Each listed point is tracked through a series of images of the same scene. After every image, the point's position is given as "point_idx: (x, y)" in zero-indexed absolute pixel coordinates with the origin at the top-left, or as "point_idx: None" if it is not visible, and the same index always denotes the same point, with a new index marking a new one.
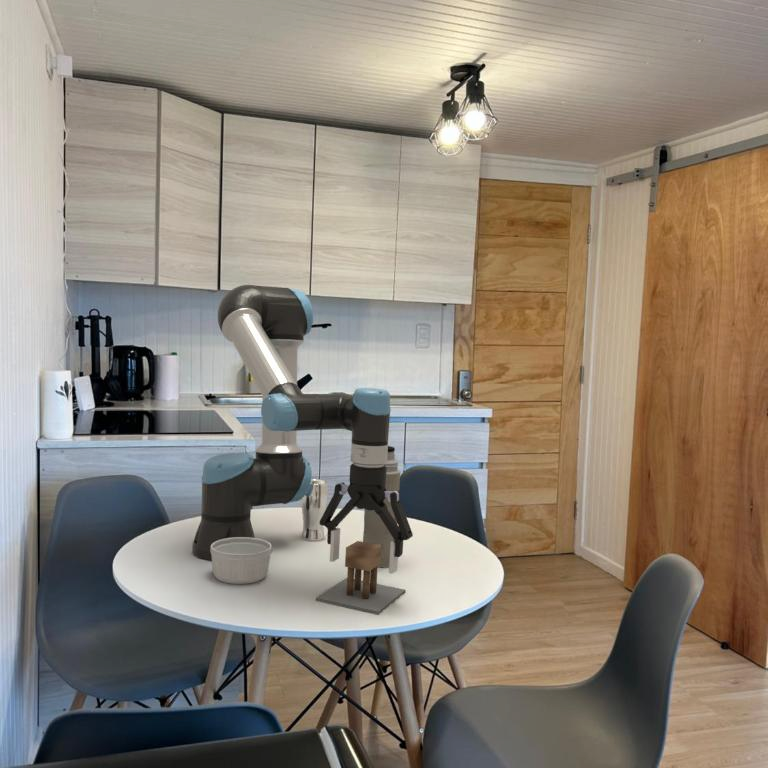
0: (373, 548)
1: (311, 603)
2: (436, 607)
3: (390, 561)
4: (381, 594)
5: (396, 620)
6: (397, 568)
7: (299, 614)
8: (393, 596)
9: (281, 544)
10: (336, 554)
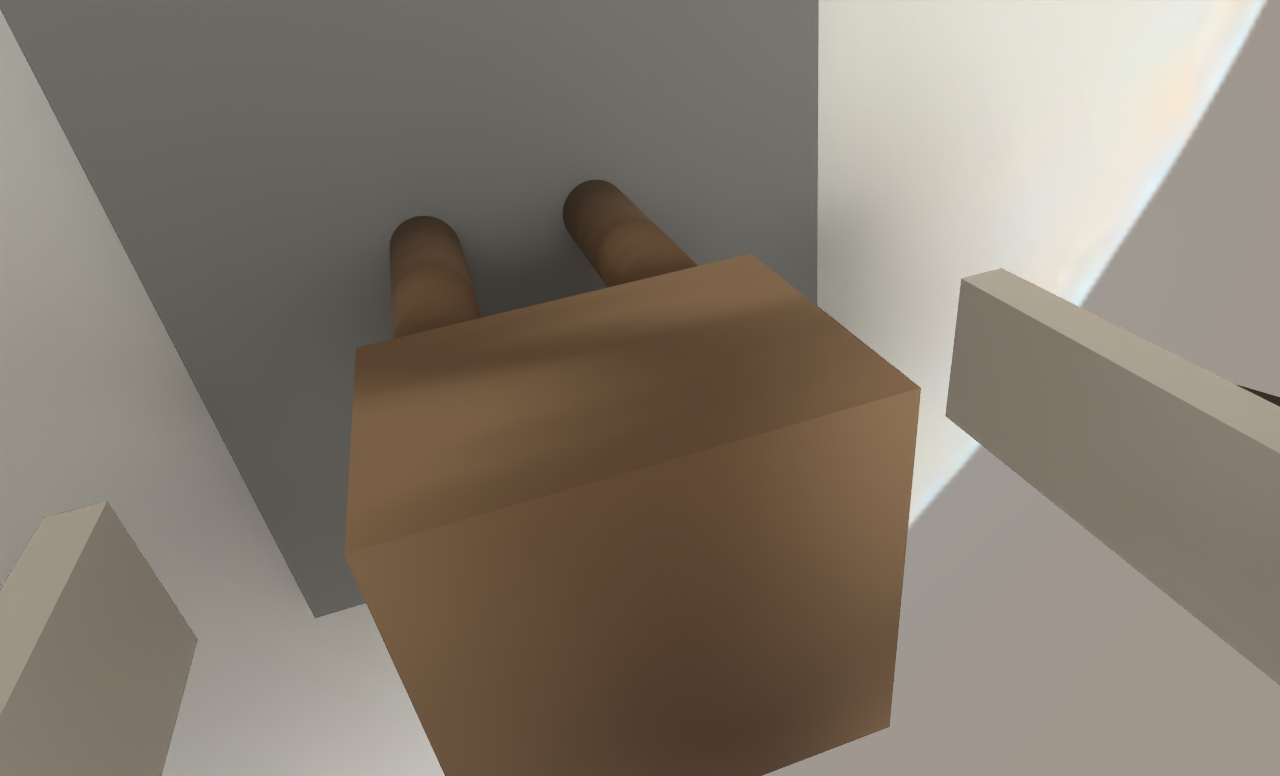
0: (866, 611)
1: (340, 643)
2: (1115, 53)
3: (1057, 494)
4: (683, 196)
5: (924, 436)
6: (1015, 277)
7: (428, 761)
8: (789, 157)
9: None
10: (128, 633)
